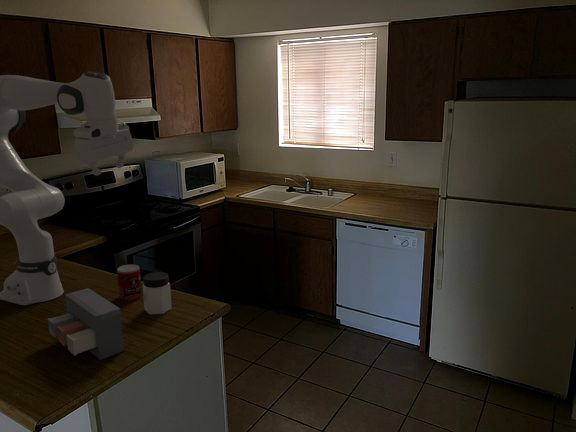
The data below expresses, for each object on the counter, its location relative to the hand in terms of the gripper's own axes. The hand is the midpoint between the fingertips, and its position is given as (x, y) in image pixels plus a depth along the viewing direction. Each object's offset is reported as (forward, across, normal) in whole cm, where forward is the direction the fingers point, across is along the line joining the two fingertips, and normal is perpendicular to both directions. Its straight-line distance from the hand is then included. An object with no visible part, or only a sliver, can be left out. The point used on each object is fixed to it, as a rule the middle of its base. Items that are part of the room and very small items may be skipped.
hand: (108, 171), depth 154 cm
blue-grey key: (+41, +28, +5) cm, 50 cm away
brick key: (+40, +31, +12) cm, 52 cm away
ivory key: (+39, +33, +18) cm, 54 cm away
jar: (+47, 0, +15) cm, 49 cm away
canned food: (+48, -4, -1) cm, 48 cm away
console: (+44, +25, +14) cm, 53 cm away
